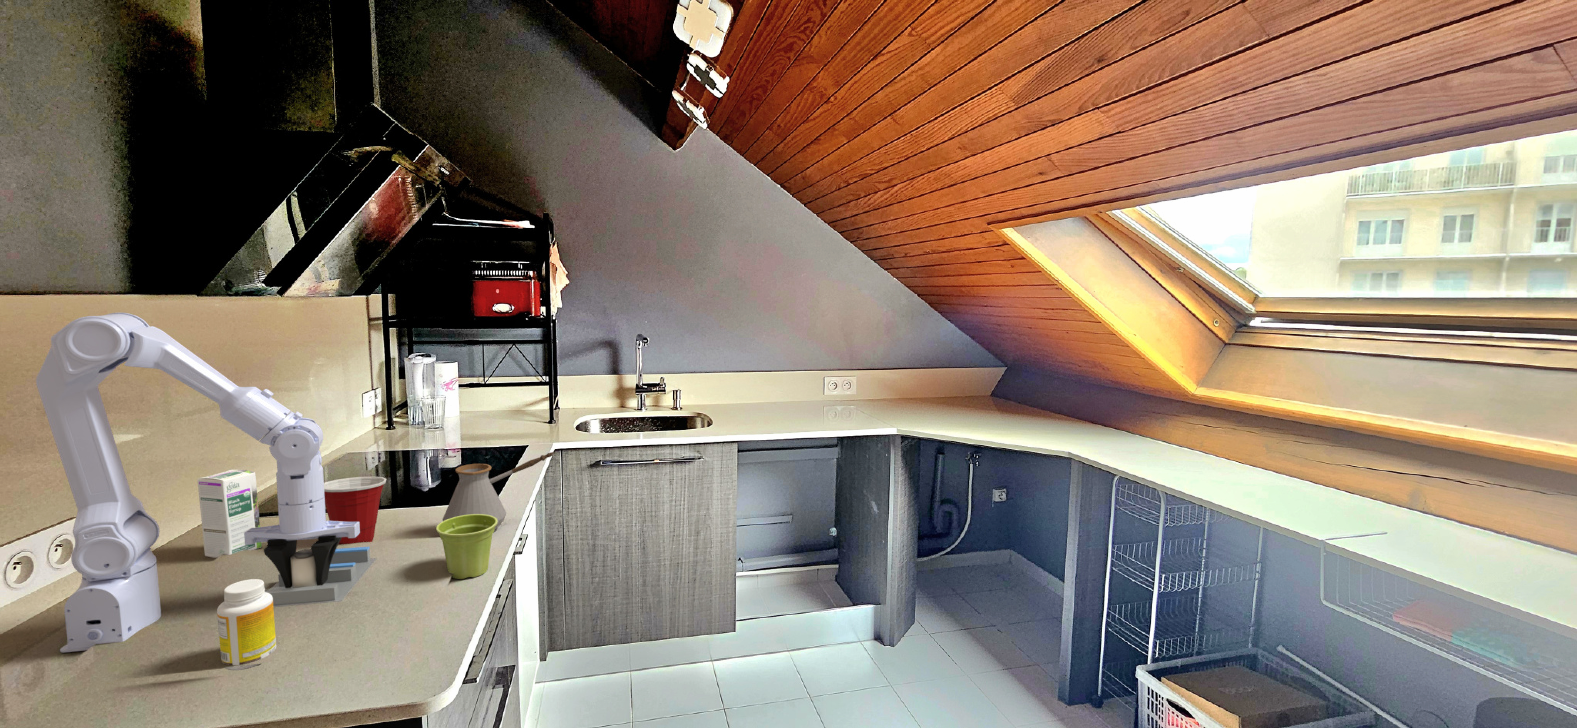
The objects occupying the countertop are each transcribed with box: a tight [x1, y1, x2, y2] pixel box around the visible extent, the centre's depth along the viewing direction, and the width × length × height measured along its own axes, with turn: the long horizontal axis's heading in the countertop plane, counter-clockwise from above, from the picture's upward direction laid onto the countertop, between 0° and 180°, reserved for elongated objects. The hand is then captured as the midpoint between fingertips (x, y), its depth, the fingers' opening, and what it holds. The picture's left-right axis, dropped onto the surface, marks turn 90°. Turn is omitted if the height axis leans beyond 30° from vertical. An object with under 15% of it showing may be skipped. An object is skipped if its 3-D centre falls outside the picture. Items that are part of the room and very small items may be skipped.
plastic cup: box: [324, 476, 387, 545], centre depth 122 cm, size 11×11×12 cm
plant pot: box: [435, 514, 498, 580], centre depth 111 cm, size 9×9×9 cm
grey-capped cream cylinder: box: [290, 548, 321, 588], centre depth 100 cm, size 4×4×7 cm
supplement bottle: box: [216, 578, 277, 671], centre depth 84 cm, size 6×6×10 cm
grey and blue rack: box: [265, 546, 378, 608], centre depth 105 cm, size 16×12×3 cm
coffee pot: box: [442, 451, 557, 531], centre depth 131 cm, size 21×12×15 cm, turn 113°
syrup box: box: [197, 469, 263, 559], centre depth 116 cm, size 6×6×14 cm
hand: (306, 583), depth 101 cm, fingers closed on grey-capped cream cylinder, 4 cm apart
